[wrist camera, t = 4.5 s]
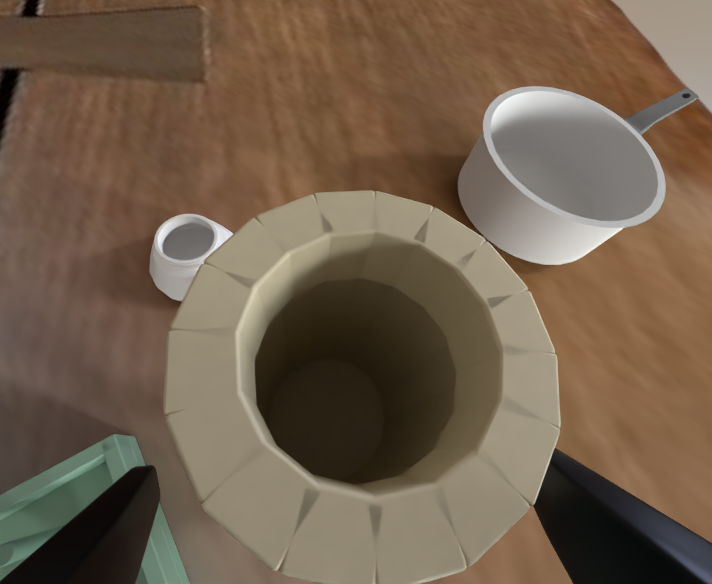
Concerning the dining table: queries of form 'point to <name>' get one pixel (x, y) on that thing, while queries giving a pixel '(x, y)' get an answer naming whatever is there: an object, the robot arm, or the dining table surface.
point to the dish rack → (80, 508)
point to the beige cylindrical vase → (361, 390)
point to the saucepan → (561, 173)
